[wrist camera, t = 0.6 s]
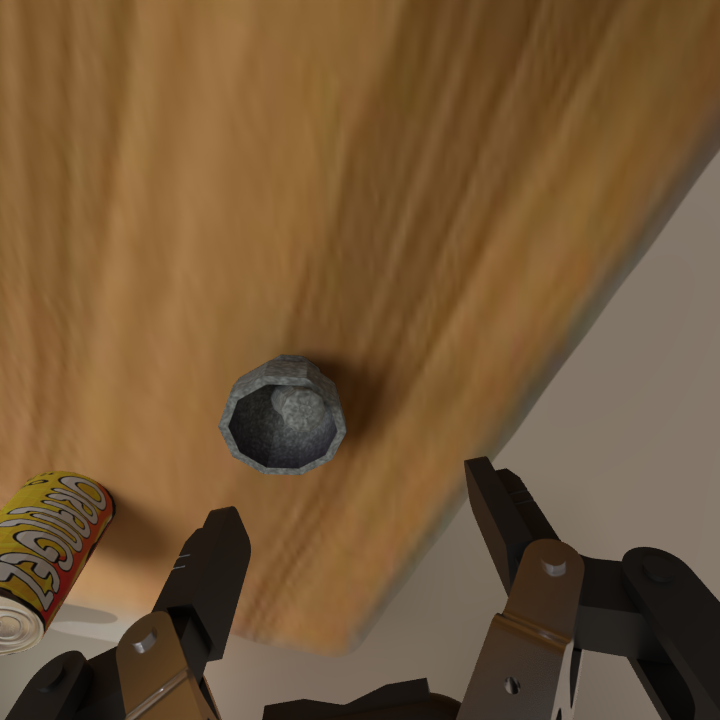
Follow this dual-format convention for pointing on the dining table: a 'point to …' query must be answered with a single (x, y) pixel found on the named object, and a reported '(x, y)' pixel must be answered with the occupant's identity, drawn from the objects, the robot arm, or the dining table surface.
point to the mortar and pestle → (283, 417)
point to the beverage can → (46, 550)
